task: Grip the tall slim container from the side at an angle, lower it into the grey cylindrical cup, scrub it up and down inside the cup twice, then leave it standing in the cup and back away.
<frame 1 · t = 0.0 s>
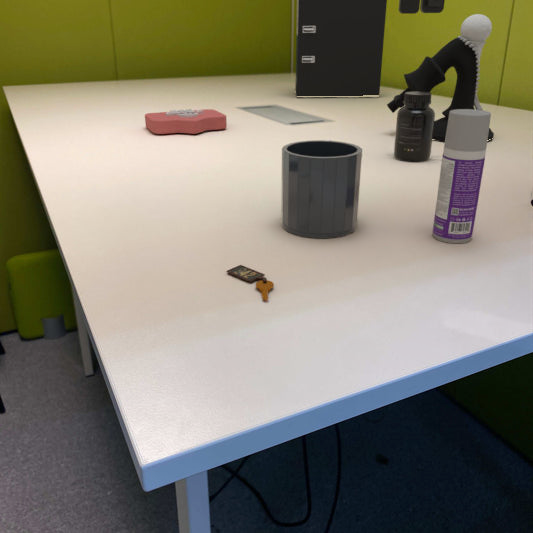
hand: (419, 13, 59), 25 cm above the table, tool pointing down, fingers open, 8 cm apart
key tag: (249, 284, 56), on the table
sculpture: (437, 136, 124), on the table
binder: (335, 96, 186), on the table
grey cylindrical cup: (318, 224, 72), on the table
supplement bottle: (411, 159, 105), on the table
container: (451, 237, 68), on the table
red sponge: (187, 130, 132), on the table
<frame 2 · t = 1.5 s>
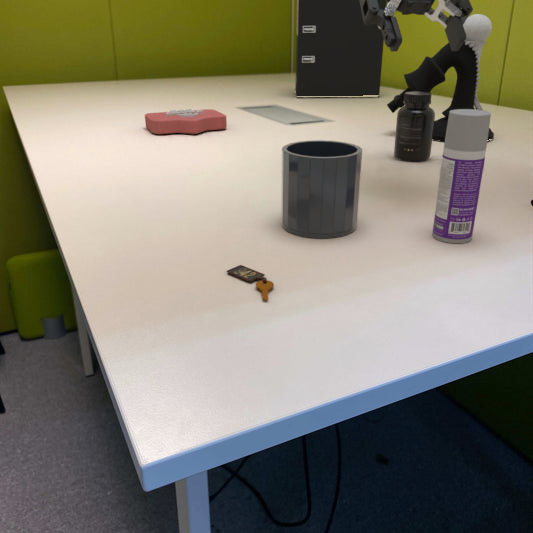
hand: (428, 46, 69), 21 cm above the table, tool tilted 45°, fingers open, 8 cm apart
nothing on the table moved.
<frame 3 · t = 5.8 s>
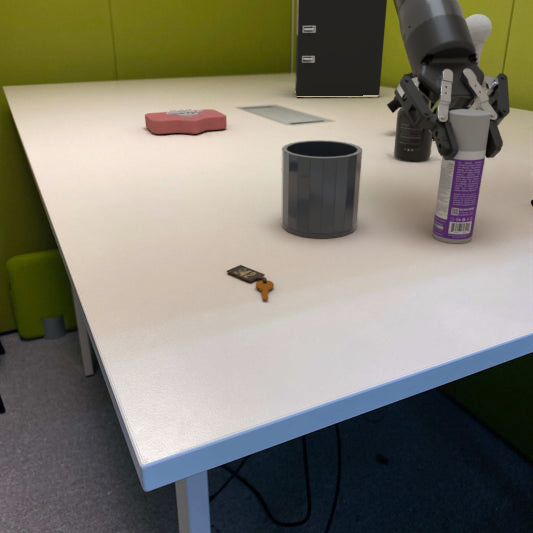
hand: (473, 154, 62), 11 cm above the table, tool tilted 45°, fingers closed on container, 4 cm apart
container: (451, 237, 68), on the table, touching gripper
everything else where it was.
when the fingers open (11 cm above the table, at t = 19.3 s): container stays where it is, resting on grey cylindrical cup.
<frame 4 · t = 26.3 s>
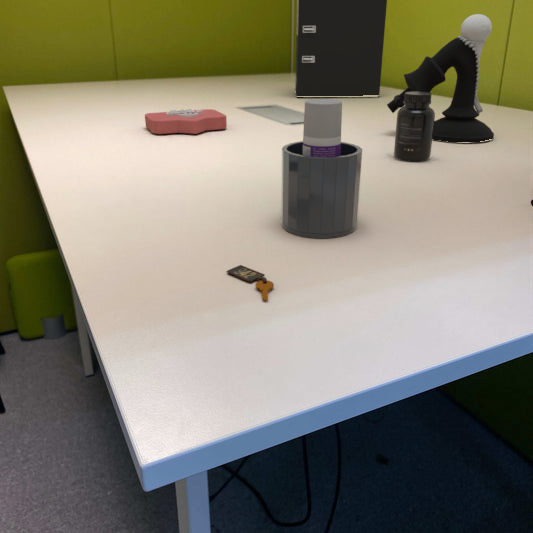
container: (318, 221, 72), resting on grey cylindrical cup
everything else where it was.
at the end: container 0.2 cm off-centre in the grey cylindrical cup, point 0.4 cm above the grey cylindrical cup's base; container tilted 0°; the gripper is holding nothing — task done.
